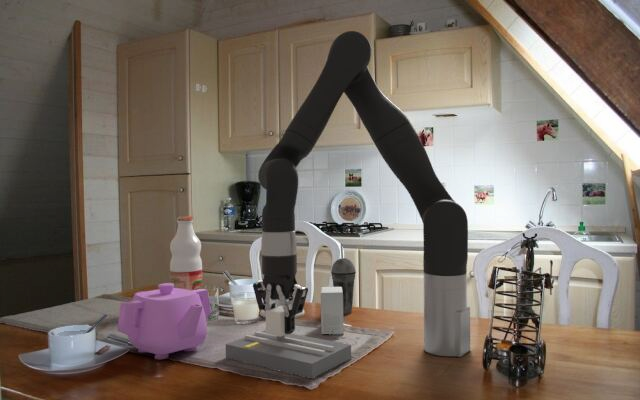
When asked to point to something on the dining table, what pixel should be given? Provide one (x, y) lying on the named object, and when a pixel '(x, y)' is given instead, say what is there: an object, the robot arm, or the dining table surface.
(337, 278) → the beverage cup
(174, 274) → the fruit juice
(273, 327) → the fader tab
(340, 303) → the small box
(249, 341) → the fader console
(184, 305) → the teapot
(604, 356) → the dining table surface
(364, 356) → the dining table surface
